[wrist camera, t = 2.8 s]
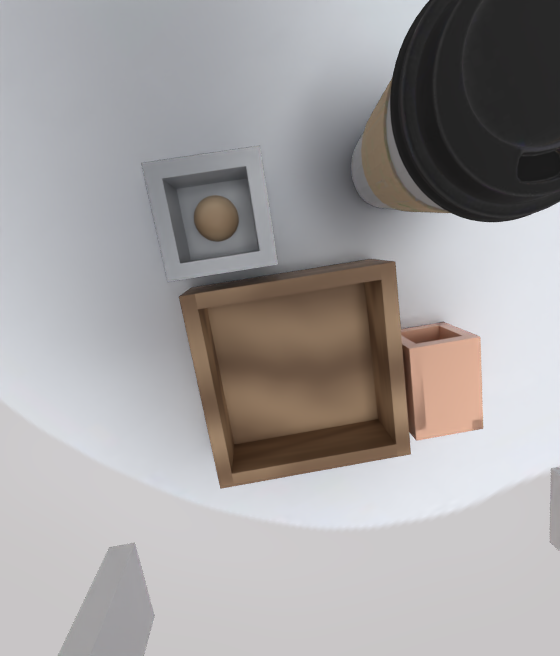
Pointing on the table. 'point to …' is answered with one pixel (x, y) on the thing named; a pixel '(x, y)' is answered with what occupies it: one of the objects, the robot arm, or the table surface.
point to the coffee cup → (469, 114)
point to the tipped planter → (442, 380)
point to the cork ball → (216, 218)
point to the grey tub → (185, 194)
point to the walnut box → (300, 370)
